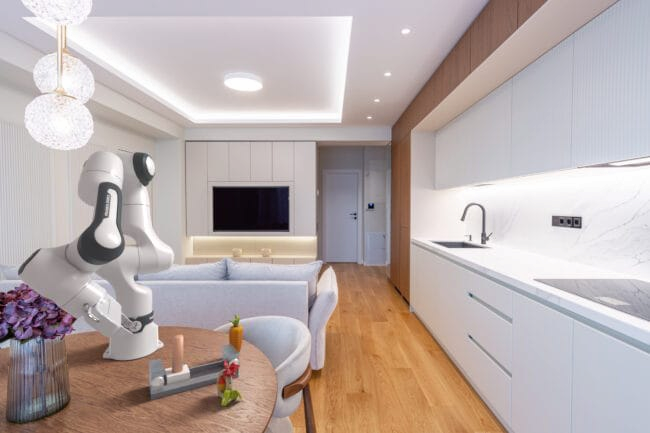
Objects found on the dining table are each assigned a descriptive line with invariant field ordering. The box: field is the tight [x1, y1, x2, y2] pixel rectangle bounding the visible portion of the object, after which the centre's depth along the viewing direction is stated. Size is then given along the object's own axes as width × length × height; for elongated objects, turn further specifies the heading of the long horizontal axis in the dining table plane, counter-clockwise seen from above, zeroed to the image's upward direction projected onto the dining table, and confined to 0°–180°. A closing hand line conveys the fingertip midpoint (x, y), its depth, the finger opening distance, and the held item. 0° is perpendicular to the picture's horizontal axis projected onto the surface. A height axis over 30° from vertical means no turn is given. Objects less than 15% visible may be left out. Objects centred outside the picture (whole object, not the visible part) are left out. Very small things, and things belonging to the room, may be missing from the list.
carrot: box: [228, 314, 244, 354], centre depth 111 cm, size 5×5×15 cm
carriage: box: [164, 334, 190, 385], centre depth 93 cm, size 6×6×13 cm
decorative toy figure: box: [216, 360, 243, 408], centre depth 87 cm, size 6×11×9 cm
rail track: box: [148, 344, 240, 401], centre depth 95 cm, size 8×24×8 cm, turn 123°
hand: (130, 331), depth 86 cm, fingers open, 8 cm apart
